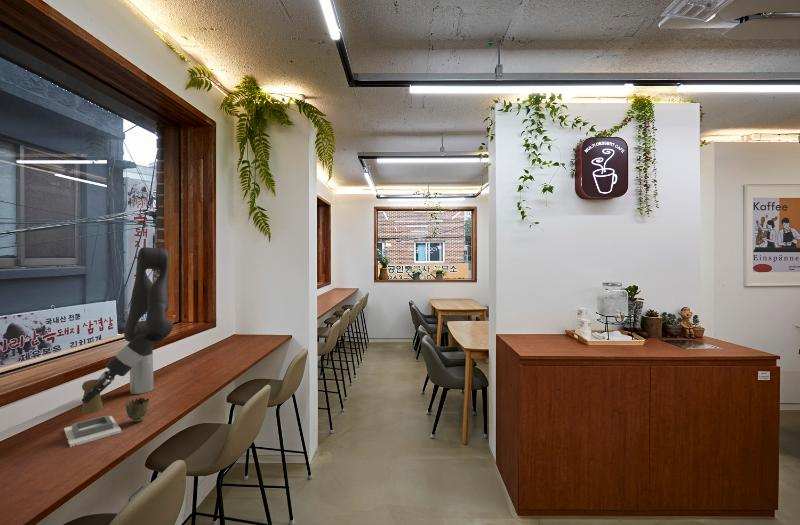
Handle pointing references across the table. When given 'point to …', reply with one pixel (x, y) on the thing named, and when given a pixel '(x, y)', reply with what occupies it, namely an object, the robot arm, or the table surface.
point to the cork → (95, 402)
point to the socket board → (91, 430)
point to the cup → (137, 409)
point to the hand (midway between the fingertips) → (84, 399)
